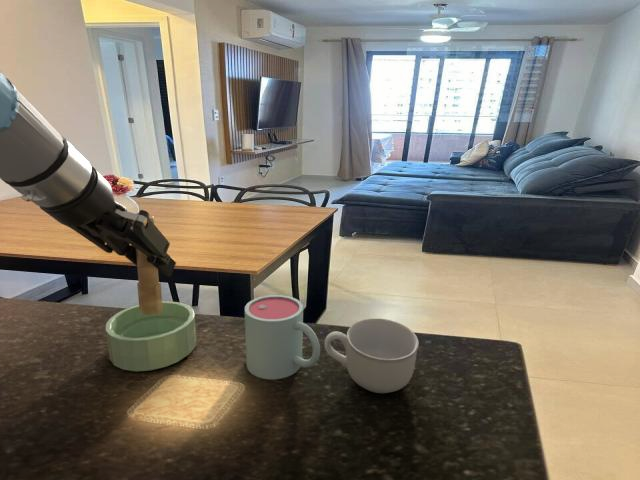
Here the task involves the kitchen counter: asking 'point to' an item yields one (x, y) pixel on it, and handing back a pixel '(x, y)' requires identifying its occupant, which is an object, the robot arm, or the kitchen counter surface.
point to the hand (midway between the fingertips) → (161, 268)
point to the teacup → (377, 354)
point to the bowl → (151, 337)
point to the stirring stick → (148, 285)
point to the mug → (277, 337)
